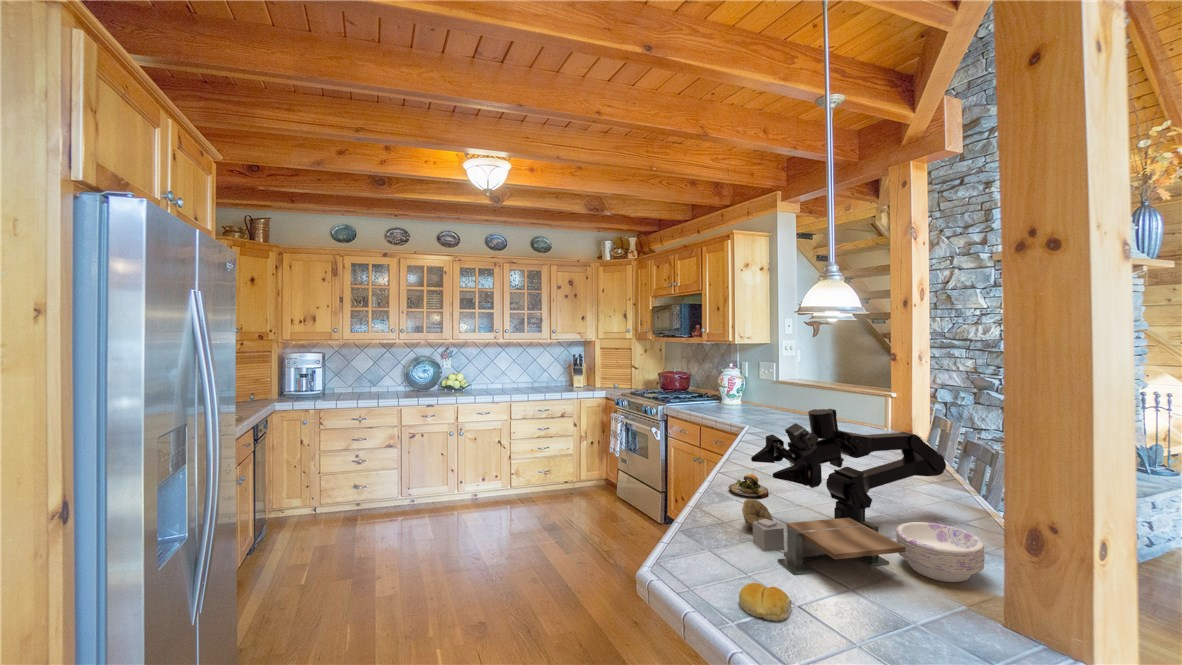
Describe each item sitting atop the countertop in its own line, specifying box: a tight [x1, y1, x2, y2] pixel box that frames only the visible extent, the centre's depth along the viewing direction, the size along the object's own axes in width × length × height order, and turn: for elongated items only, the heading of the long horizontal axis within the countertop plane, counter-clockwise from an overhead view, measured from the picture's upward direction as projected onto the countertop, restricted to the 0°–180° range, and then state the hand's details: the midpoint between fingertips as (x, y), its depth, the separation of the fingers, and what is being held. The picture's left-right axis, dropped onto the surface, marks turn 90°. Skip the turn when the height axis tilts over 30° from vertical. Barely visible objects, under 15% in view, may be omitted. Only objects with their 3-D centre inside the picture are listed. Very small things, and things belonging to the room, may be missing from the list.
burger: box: [728, 469, 770, 500], centre depth 157 cm, size 12×12×8 cm
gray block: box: [752, 519, 785, 552], centre depth 119 cm, size 5×5×6 cm
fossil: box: [741, 498, 774, 530], centre depth 130 cm, size 9×4×10 cm
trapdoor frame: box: [777, 520, 890, 576], centre depth 111 cm, size 23×8×8 cm, turn 102°
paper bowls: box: [895, 521, 986, 583], centre depth 106 cm, size 15×15×8 cm
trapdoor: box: [786, 518, 906, 560], centre depth 107 cm, size 16×16×6 cm
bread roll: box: [738, 582, 793, 622], centre depth 92 cm, size 8×9×4 cm
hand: (761, 467), depth 124 cm, fingers open, 9 cm apart
